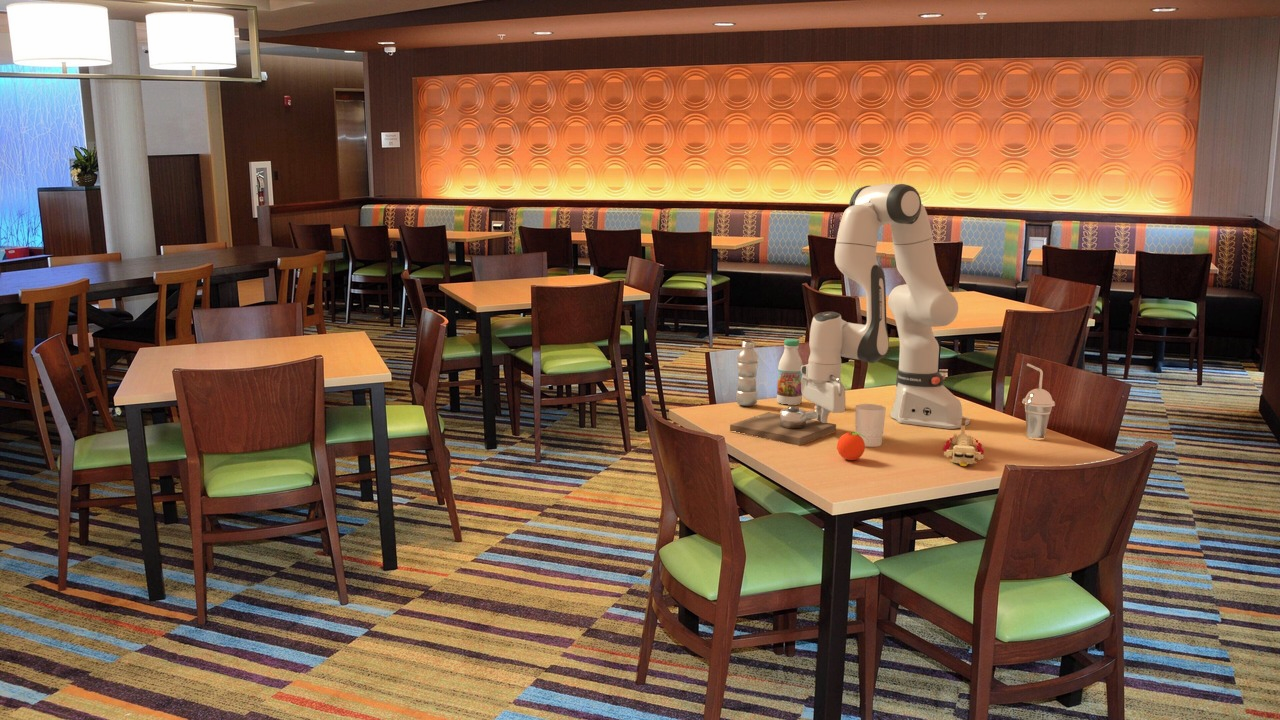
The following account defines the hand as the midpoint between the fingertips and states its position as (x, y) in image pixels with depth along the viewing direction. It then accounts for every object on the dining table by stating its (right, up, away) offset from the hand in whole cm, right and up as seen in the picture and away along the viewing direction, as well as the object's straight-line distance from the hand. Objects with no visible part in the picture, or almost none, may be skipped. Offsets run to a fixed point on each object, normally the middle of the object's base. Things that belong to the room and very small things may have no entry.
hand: (822, 421), depth 288 cm
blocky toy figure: (+33, -8, -18) cm, 39 cm away
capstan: (-4, -1, +4) cm, 6 cm away
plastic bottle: (-17, +3, +34) cm, 38 cm away
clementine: (+4, -8, -24) cm, 25 cm away
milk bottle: (-3, +3, +39) cm, 39 cm away
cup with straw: (+59, -5, 0) cm, 59 cm away
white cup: (+11, -6, -8) cm, 15 cm away
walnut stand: (-10, -3, +4) cm, 11 cm away
